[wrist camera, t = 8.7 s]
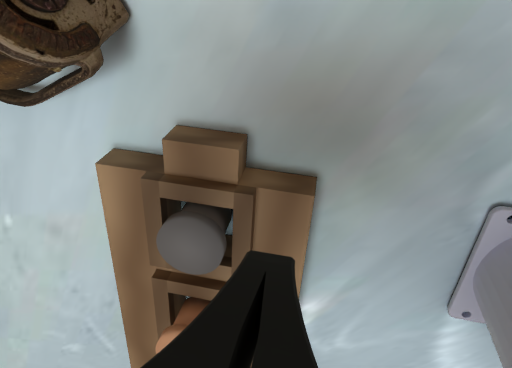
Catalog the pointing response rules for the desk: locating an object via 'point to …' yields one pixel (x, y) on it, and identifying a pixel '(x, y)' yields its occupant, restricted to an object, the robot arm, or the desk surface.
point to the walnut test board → (168, 203)
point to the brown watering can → (52, 43)
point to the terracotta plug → (181, 320)
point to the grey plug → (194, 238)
